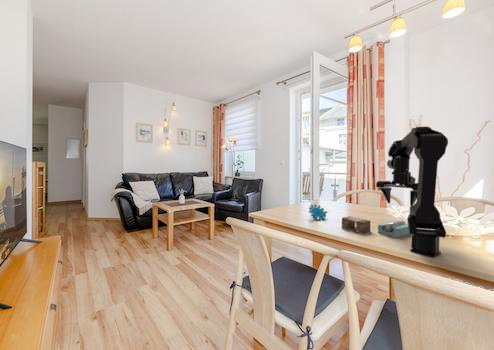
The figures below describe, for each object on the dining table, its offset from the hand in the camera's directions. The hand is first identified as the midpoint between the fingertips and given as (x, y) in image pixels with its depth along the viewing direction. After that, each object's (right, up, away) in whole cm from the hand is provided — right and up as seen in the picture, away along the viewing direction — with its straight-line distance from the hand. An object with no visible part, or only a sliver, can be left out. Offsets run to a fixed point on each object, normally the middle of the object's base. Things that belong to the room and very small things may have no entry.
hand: (400, 204), depth 99 cm
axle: (-3, -11, -2) cm, 11 cm away
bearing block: (-18, -12, +4) cm, 22 cm away
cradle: (-3, -12, -1) cm, 12 cm away
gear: (-29, -11, +24) cm, 39 cm away
